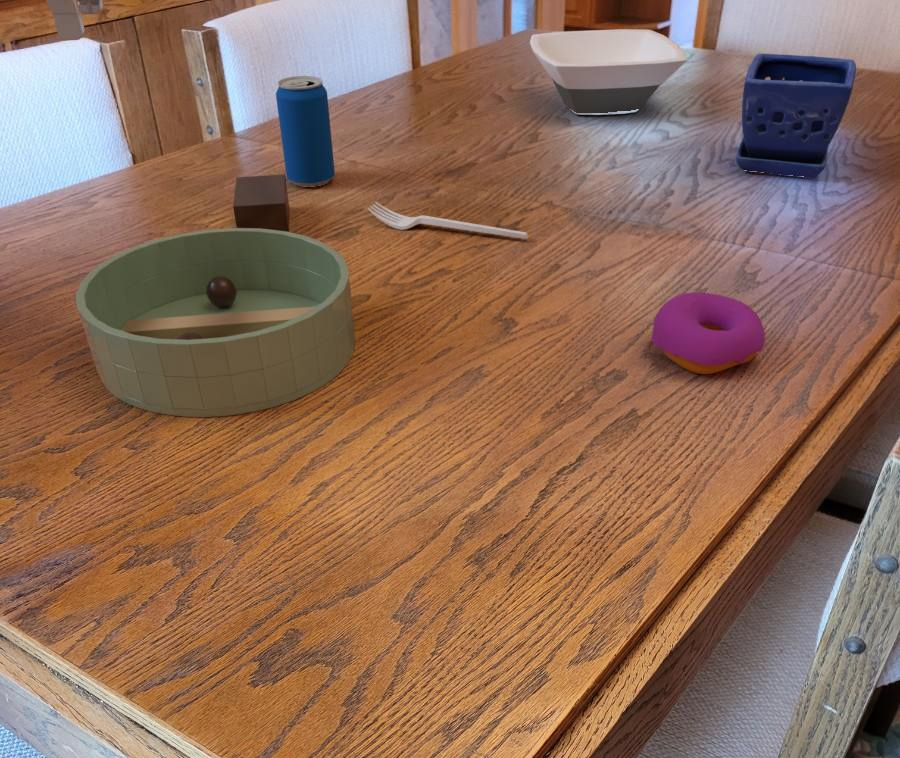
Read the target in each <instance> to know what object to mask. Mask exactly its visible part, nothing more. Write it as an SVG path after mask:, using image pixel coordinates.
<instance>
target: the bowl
mask: <svg viewBox="0 0 900 758" xmlns="http://www.w3.org/2000/svg"><path fill="white" fill-rule="evenodd" d="M529 45H530V47H531V50H532V52H533V55H535V57H536V59H537V60H538V62H539V63H540V64H541V66H542V68H543V69H544V70H545V72H546V73H547V75H548V76H549V77H550V78H551V81H552V82H553V84H554V86H555V88H556V91H557V92H558V94H559V96H560V98H561V101H562V102H563V104H564V106H565V105H566V106H567V107H568V108H569V109H571V110H573V111H574V112H576V113H608V112H617V111H631V110H636V109H640V110H641V109H642V108H643V106H645V104H646V103H647V102H648V100H649V99H650V98H651V97H652V96H653V94H654V93H655V92H656V91H657V90H658V89H659V88H660V86H661V85H663V84H664V83H666V81H667V80H669V78H671V76H673V75H674V74H675V73H676V72H677V71H679V69H680V68H681V67H682V66H683V65H684V64H686V63H687V59H688V58H687V53H686V51H685V50H684V49H683V48H682V47H681V46H680V45H679V43H677V42H676V41H673V40H672V39H671V38H670V37H667V36H666V35H664V34H662V33H658V32H657V31H654V30H652V29H640V28H639V29H635V28H634V29H633V28H632V29H630V28H620V29H618V28H617V29H591V30H570V31H569V30H568V31H552V32H544V33H535V34H532V35H531V37H530V40H529ZM566 106H565V107H566ZM567 107H566V108H567ZM568 108H567V109H568ZM569 109H568V110H569Z"/></svg>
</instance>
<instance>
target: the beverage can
mask: <svg viewBox="0 0 900 758" xmlns="http://www.w3.org/2000/svg"><path fill="white" fill-rule="evenodd" d="M277 86H278V87H277V90H276V92H275V99H276V106H277V114H278V121H279V129H280V137H281V144H282V153H283V159H284V160H283V161H284V167H285V177H286V179H287V180H288V181H289V182H291V183H292V184H293V183H294V184H296V185H299V186H307V187H310V186H319V185H323V184H326V183H328V182H329V181H330V182H331V180H333V179H334V178H335V176H336V171H335V161H334V150H333V140H332V130H331V120H330V109H329V99H328V91H327V89H326V87H325V86H324V85H323V79H322V78H320V77H317V76H311V75H296V76H290V77H284V78H282V79H280V80H279V81H277ZM330 182H329V183H330ZM329 183H328V184H329ZM294 184H293V185H294ZM296 185H295V186H296ZM326 185H327V184H326Z"/></svg>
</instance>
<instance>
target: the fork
mask: <svg viewBox="0 0 900 758" xmlns="http://www.w3.org/2000/svg"><path fill="white" fill-rule="evenodd" d="M371 204H372V205H370V206H369V207H367V210H368V211H369V212H370V213H371V214H372V215H373V216H375V217H376V219H377V220H379V221H380V222H382V223H384V224H385V225H387V226H389V227H390V228H393V229H396V230H401V231H403V230H408V229H411V228H413V227H415V226H417V225H419V224H421V225H422V224H423V225H430V226H435V227H436V226H437V227H443V228H449V229H457V230H462V231H463V230H464V231H470V232H478V233H483V234H491V235H497V236H503V237H504V236H505V237H510V238H518V239H525V240H527V239H528V238H529V235H528V232H526V231H519V230H513V229H508V228H501V227H496V226H491V225H484V224H477V223H472V222H466V221H460V220H453V219H447V218H441V217H436V216H429V215H418V216H407V215H403V214H400V213H397V212H396V211H393V210H391V209H389V208H387V207H386V206H383V205H382V204H380V203H379V202H377V201H374V203H371Z"/></svg>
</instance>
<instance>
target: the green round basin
mask: <svg viewBox="0 0 900 758" xmlns="http://www.w3.org/2000/svg"><path fill="white" fill-rule="evenodd" d="M219 276H222V277H226V278H228V279H229V280H231V281H232V282H233V284H234V285H235V287H236V291H237V295H236V299H235V301H234V302H233V303H232V304H231V305H230V306H228V307H217V306H215V305H214V304H212V303H211V302H210V300H209V299H208V297H207V293H206V288H207V285H208V283H209V281H210V280H211V279H213V278H215V277H219ZM351 290H352V289H351V279H350V271H349V264H348V263H347V261H346V260H345V259H344V257H343V256H342V254H341V253H340V252H339V251H337V250H336V249H334V248H333V247H332V246H330V245H328V244H326V243H325V242H322V241H321V240H317V239H315V238H312V237H311V236H307V235H303V234H299V233H296V232H291V231H290V232H286V231H278V230H269V229H259V228H237V227H229V228H213V229H204V230H197V231H191V232H184V233H178V234H174V235H170V236H166V237H165V236H164V237H161V238H157V239H153V240H150V241H147V242H143V243H142V244H139V245H135V246H132V247H130V248H127V249H126V250H123V251H121V252H119V253H117V254H115V255H113V256H111V257H109V258H107V259H106V260H104V261H103V262H101V263H100V264H98V265H97V266H96V267H95V268H93V269H92V270H91V271H90V272H89V273H88V274H87V275H86V276H85V278H83V279H82V280H81V282H80V283H79V286H78V288H77V292H76V294H75V303H76V308H77V309H76V310H77V313H78V316H79V319H80V322H81V325H82V329H83V331H84V335H85V339H86V341H87V345H88V346H89V351H90V353H91V357H92V360H93V364H94V367H95V370H96V373H97V374H98V376H99V379H100V381H101V383H102V385H103V386H104V387H105V388H106V390H107V391H108V392H109V393H111V394H112V395H113V396H114V397H115V398H117V399H119V400H120V401H122V402H124V403H125V404H128V405H130V406H132V407H134V408H137V409H141V410H144V411H147V412H151V413H156V414H160V415H161V414H162V415H166V416H175V417H185V418H187V417H188V418H215V417H216V418H217V417H228V416H235V415H236V416H237V415H243V414H249V413H250V414H251V413H254V412H255V413H256V412H259V411H263V410H267V409H271V408H275V407H278V406H281V405H284V404H287V403H290V402H294V401H296V400H298V399H301V398H303V397H305V396H307V395H309V394H311V393H313V392H315V391H317V390H318V389H321V388H322V387H324V386H325V385H326V384H329V382H331V381H333V379H335V378H336V377H337V376H338V375H339V374H341V372H342V371H343V370H344V369H345V368H346V367H347V365H349V362H350V360H351V359H352V358H353V355H354V351H355V349H356V334H355V323H354V312H353V301H352V291H351ZM302 307H315V308H313V309H312V310H310V311H308V312H307V313H305V314H303V315H301V316H298V317H296V318H294V319H291V320H289V321H287V322H285V323H282V324H279V325H276V326H272V327H269V328H265V329H262V330H259V331H255V332H250V333H245V334H239V335H233V336H228V337H221V338H207V339H194V340H179V339H158V338H152V337H145V336H139V335H134V334H130V333H127V332H124V328H125V324H126V321H128V320H141V319H155V318H168V317H182V316H195V315H208V314H222V313H235V312H249V311H262V310H276V309H289V308H302Z"/></svg>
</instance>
